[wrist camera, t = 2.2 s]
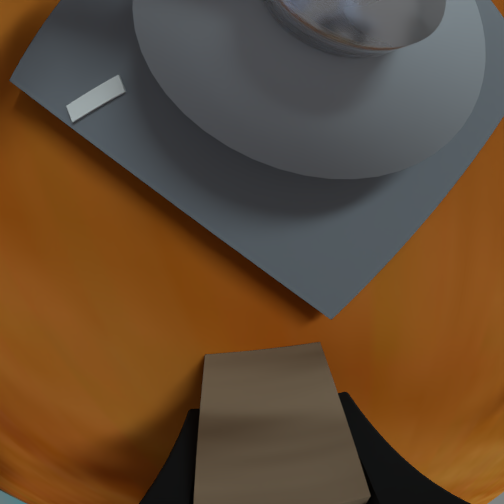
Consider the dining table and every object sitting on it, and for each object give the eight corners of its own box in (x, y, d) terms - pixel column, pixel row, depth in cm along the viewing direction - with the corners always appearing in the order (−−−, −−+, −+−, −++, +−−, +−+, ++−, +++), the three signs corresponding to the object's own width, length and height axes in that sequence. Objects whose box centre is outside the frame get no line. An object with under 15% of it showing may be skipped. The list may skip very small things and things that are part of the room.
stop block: (315, 410, 12) (345, 533, 7) (222, 420, 12) (222, 548, 7) (319, 341, 11) (370, 495, 5) (205, 354, 11) (192, 517, 5)
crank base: (324, 305, 10) (346, 353, 8) (23, 81, 7) (-26, 78, 4) (519, 66, 7) (563, 67, 4) (273, -145, 3) (281, -181, 1)
